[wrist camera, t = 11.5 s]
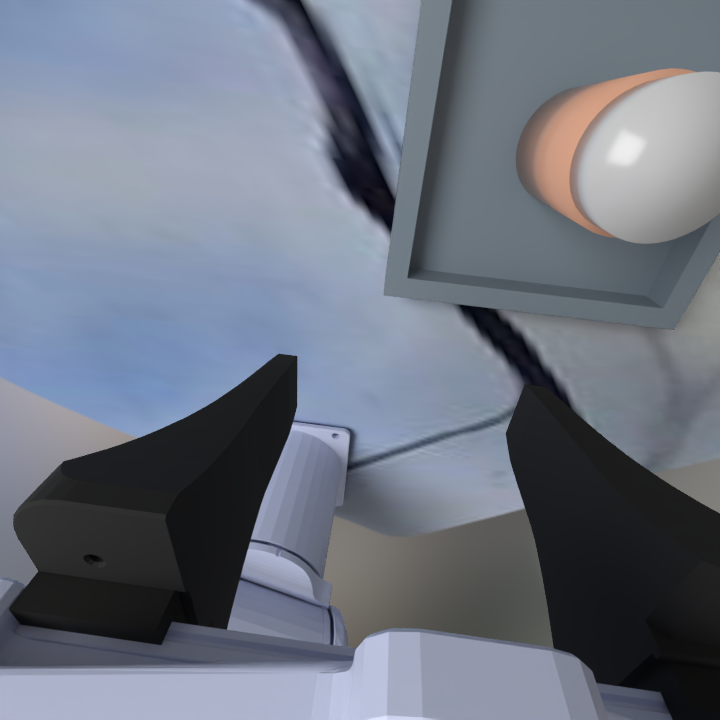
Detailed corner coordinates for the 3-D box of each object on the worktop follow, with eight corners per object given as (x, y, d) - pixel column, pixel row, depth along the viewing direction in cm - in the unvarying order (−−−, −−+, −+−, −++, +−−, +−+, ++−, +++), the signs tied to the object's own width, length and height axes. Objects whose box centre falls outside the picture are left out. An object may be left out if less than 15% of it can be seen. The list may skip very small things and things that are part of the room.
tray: (385, 277, 21) (383, 295, 19) (434, -101, 14) (440, -138, 12) (646, 308, 21) (673, 329, 19) (841, -63, 14) (922, -95, 11)
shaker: (502, 197, 18) (556, 239, 12) (535, 79, 16) (625, 49, 9) (600, 210, 18) (709, 260, 11) (648, 93, 15) (818, 72, 9)
